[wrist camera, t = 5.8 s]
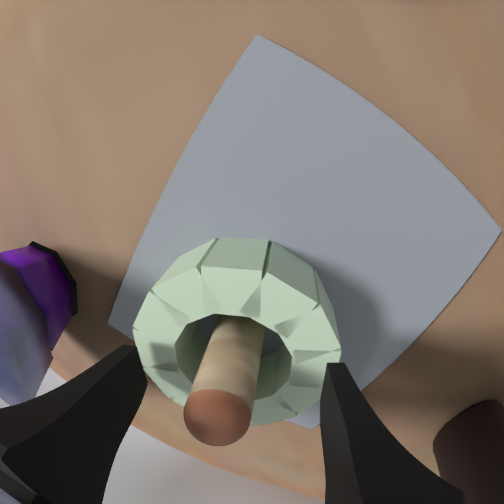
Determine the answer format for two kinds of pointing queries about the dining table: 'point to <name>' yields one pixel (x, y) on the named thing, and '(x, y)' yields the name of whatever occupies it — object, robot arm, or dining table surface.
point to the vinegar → (474, 453)
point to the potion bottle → (31, 317)
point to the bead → (248, 305)
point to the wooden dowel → (226, 382)
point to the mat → (318, 207)
